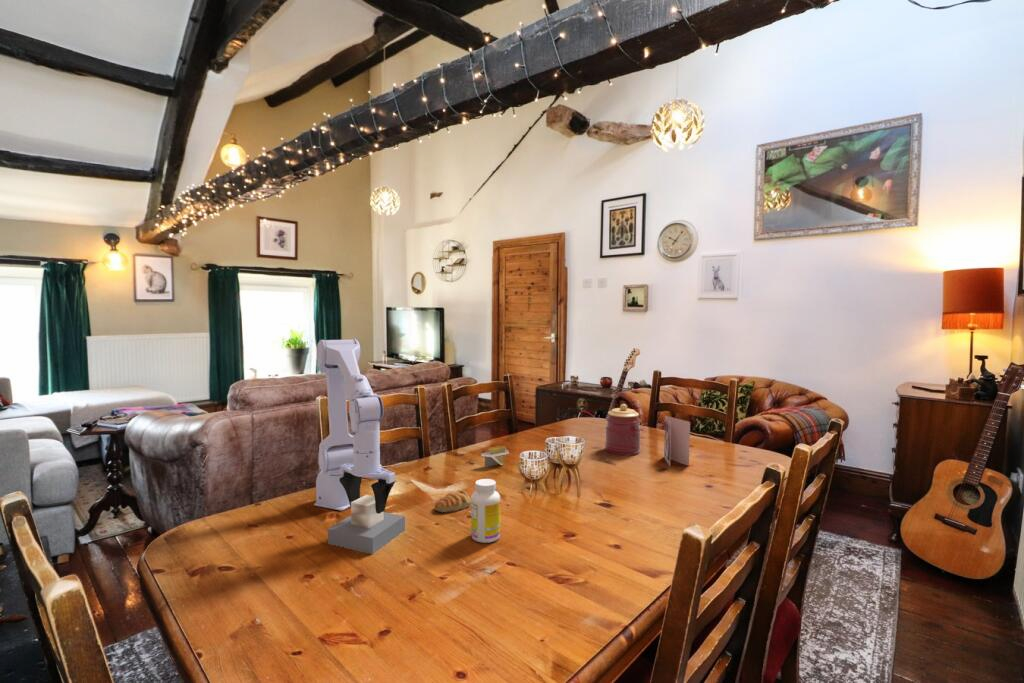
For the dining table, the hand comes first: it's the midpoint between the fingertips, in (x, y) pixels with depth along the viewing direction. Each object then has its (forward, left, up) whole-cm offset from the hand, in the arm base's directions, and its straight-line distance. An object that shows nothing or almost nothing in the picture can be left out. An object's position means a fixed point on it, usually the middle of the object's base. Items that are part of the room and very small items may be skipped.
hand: (367, 508), depth 109 cm
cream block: (0, 0, -3) cm, 3 cm away
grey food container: (+7, +58, -7) cm, 59 cm away
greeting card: (+63, +85, -7) cm, 106 cm away
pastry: (+10, +22, -7) cm, 26 cm away
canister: (+44, +92, -7) cm, 102 cm away
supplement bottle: (+25, +10, -7) cm, 28 cm away
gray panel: (0, 0, -7) cm, 7 cm away
